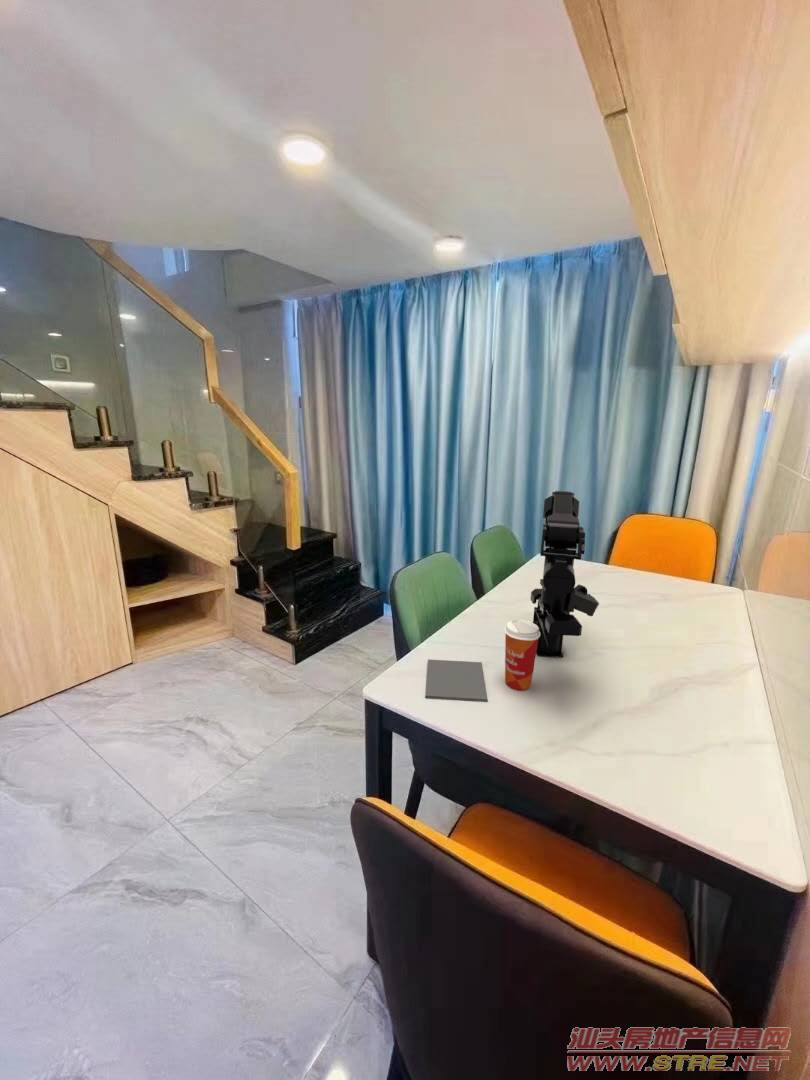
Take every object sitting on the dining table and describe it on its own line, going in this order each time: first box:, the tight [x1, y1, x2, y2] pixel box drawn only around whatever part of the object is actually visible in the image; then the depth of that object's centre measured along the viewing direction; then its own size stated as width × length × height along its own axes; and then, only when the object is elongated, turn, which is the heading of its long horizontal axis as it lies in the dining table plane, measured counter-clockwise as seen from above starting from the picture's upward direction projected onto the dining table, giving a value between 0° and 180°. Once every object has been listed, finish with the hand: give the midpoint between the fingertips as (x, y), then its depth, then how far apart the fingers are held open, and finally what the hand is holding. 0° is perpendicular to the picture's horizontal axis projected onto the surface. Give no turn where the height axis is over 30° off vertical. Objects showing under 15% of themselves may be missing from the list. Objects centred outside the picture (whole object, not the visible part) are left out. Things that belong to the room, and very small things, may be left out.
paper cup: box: [503, 619, 541, 692], centre depth 97 cm, size 8×8×14 cm
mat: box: [425, 659, 488, 703], centre depth 100 cm, size 13×15×1 cm
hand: (550, 646), depth 96 cm, fingers closed
